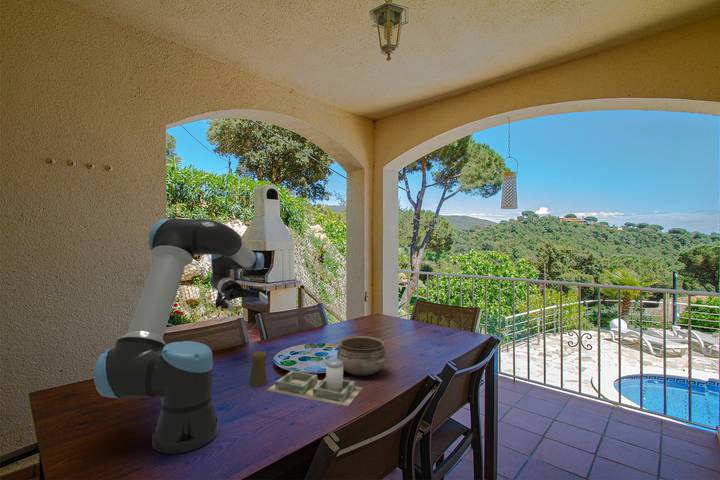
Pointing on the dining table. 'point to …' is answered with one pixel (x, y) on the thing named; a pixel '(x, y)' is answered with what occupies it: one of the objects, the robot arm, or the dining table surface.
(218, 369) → the dining table surface
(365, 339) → the cooking pot
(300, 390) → the condiment caddy
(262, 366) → the pepper mill
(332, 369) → the salt shaker
